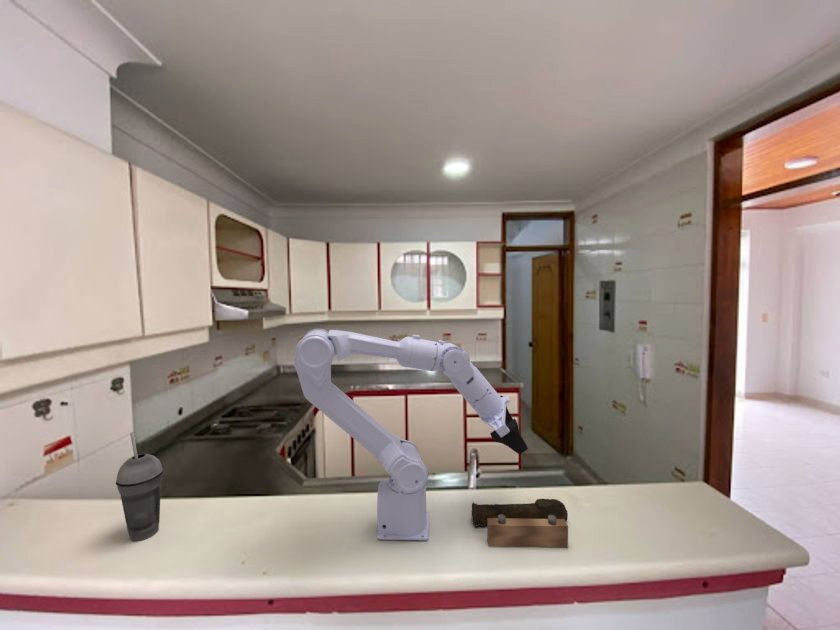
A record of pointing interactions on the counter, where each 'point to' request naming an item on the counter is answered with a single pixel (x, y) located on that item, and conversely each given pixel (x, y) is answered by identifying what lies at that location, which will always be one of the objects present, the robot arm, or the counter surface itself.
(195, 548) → the counter surface
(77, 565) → the counter surface
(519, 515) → the hand tool
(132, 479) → the beverage cup
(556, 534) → the stop rail
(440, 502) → the counter surface
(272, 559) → the counter surface
